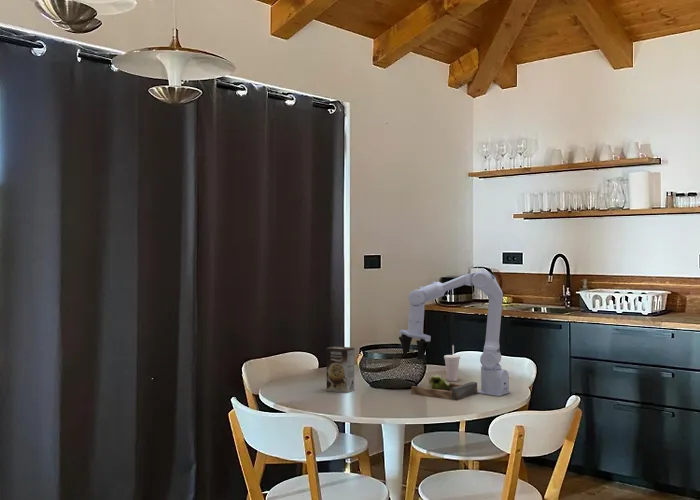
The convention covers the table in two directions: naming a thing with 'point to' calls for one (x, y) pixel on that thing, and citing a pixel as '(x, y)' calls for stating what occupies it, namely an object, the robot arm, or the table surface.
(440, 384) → the fruit
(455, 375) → the smoothie
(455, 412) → the table surface
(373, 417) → the table surface
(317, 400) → the table surface
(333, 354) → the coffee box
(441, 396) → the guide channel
